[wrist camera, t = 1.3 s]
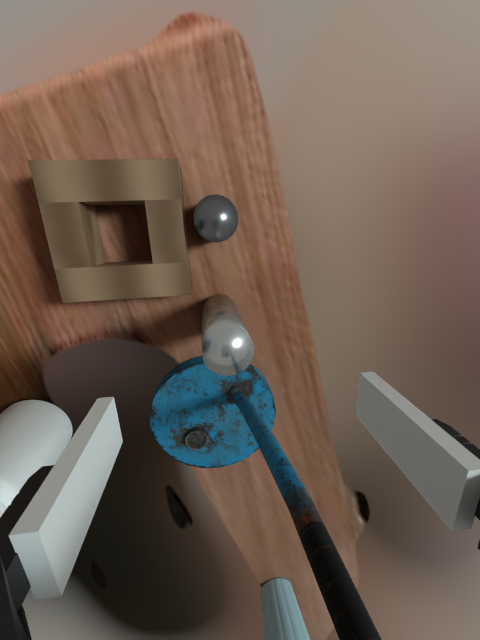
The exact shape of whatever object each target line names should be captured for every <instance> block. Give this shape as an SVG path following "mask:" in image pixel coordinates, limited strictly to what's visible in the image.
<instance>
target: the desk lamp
mask: <svg viewBox="0 0 480 640" xmlns="http://www.w3.org/2000/svg"><path fill="white" fill-rule="evenodd" d="M275 412H276V409H275V403H274V397H273V394H272V391H271V389H270V387H269V385H268V383H267V381H266V379H265V377H264V376H263V375H262V374H261V373H260V372H259V371H258V370H257V369H256V368H255V367H254V366H252V365H249V366H248V367H247V368H246V369H245V370H244V371H242V372H240V373H238V374H236V375H231V376H223V375H219V374H216V373H214V372H212V371H211V370H210V369H209V368H208V367H207V366H206V364H205V363H204V360H203V356H200V357H196V358H192V359H190V360H188V361H186V362H184V363H182V364H180V365H177V366H176V367H175V368H174V369H173V370H171V371H170V372H169V373H168V374H167V375H166V376H165V377H164V378H163V380H162V381H161V382H160V384H159V385H158V387H157V389H156V391H155V394H154V398H153V401H152V404H151V409H150V427H151V430H152V433H153V436H154V438H155V440H156V442H157V443H158V444H159V446H160V447H161V448H162V450H163V451H164V452H166V453H167V454H168V455H170V456H171V457H172V458H173V459H175V460H177V461H179V462H182V463H185V464H186V465H189V466H195V467H201V468H218V467H223V466H227V465H231V464H234V463H236V462H239V461H241V460H243V459H245V458H247V457H248V456H250V455H251V454H252V453H254V452H255V451H256V450H257V449H259V448H260V450H261V452H262V454H263V456H264V458H265V460H266V463H267V465H268V467H269V469H270V471H271V473H272V475H273V477H274V479H275V482H276V484H277V486H278V488H279V490H280V492H281V494H282V496H283V498H284V501H285V503H286V505H287V507H288V509H289V511H290V514H291V517H292V519H293V522H294V524H295V527H296V529H297V532H298V535H299V537H300V540H301V542H302V545H303V547H304V550H305V552H306V555H307V558H308V560H309V563H310V565H311V568H312V570H313V573H314V575H315V578H316V581H317V583H318V586H319V588H320V591H321V593H322V596H323V599H324V601H325V604H326V606H327V609H328V611H329V614H330V616H331V619H332V622H333V624H334V627H335V629H336V632H337V634H338V637H339V639H340V640H381V638H380V636H379V634H378V632H377V630H376V628H375V626H374V624H373V622H372V620H371V618H370V616H369V614H368V612H367V610H366V608H365V606H364V604H363V602H362V600H361V598H360V596H359V594H358V592H357V590H356V588H355V586H354V583H353V581H352V579H351V577H350V575H349V573H348V571H347V569H346V567H345V565H344V563H343V561H342V559H341V557H340V555H339V553H338V551H337V549H336V547H335V545H334V543H333V541H332V539H331V537H330V535H329V533H328V531H327V529H326V527H325V525H324V523H323V521H322V519H321V517H320V515H319V513H318V511H317V509H316V507H315V505H314V503H313V501H312V499H311V497H310V495H309V494H308V492H307V490H306V489H305V487H304V485H303V484H302V482H301V480H300V479H299V477H298V475H297V474H296V472H295V470H294V468H293V467H292V465H291V463H290V462H289V460H288V458H287V457H286V455H285V453H284V452H283V450H282V448H281V447H280V445H279V443H278V441H277V440H276V438H275V436H274V435H273V433H272V432H271V429H272V427H273V425H274V419H275Z"/></svg>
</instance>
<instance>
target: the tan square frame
mask: <svg viewBox="0 0 480 640" xmlns="http://www.w3.org/2000/svg"><path fill="white" fill-rule="evenodd" d="M28 162H29V166H30V170H31V174H32V178H33V183H34V187H35V191H36V195H37V199H38V203H39V208H40V212H41V216H42V220H43V224H44V228H45V233H46V237H47V241H48V245H49V249H50V253H51V257H52V262H53V266H54V270H55V274H56V278H57V282H58V287H59V291H60V295H61V299H62V303H69V302H85V301H101V300H117V299H133V298H148V297H164V296H180V295H190V293H191V288H192V286H191V275H190V264H189V253H188V242H187V231H186V220H185V209H184V199H183V188H182V177H181V168H180V165H179V163H178V160H177V159H136V160H28ZM115 205H145V208H146V215H147V223H148V231H149V238H150V246H151V253H152V260H151V261H130V262H109V263H105V258H104V252H103V247H102V241H101V236H100V230H99V225H98V219H97V214H96V209H95V206H115Z"/></svg>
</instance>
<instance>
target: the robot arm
mask: <svg viewBox="0 0 480 640" xmlns="http://www.w3.org/2000/svg"><path fill="white" fill-rule="evenodd" d="M356 416H357V417H358V419H359V420H360V421H361V422H362V423H363V424H364V426H365V427H366V428H367V430H368V431H369V432H370V433H371V434H372V436H373V437H374V438H375V439H376V440H377V442H378V443H379V444H380V445H381V447H382V448H383V449H384V450H385V451H386V453H387V454H388V455H389V456H390V457H391V459H392V460H393V461H394V462H395V463H396V465H397V466H398V467H399V468H400V469H401V471H402V472H403V473H404V474H405V476H406V477H407V478H408V479H409V480H410V481H411V483H412V484H413V485H414V486H415V487H416V489H417V490H418V491H419V493H420V494H421V495H422V496H423V497H424V499H425V500H426V501H427V502H428V503H429V505H430V506H431V507H432V508H433V509H434V511H435V512H436V513H437V514H438V515H439V517H440V518H441V519H442V520H443V521H444V523H445V524H446V525H447V526H448V528H449V529H450V530H451V531H452V532H453V531H459V530H465V529H470V528H471V527H472V525H473V521H474V518H475V516H476V517H477V518H478V519H479V520H480V449H478V448H477V447H476V446H475V445H473V444H471V443H470V441H468V440H467V439H466V438H464V437H462V436H461V434H459V433H458V432H457V431H455V430H454V429H453V428H452V427H451V426H449V425H447V424H445V423H443V422H441V421H439V420H437V419H433V420H431V419H430V418H429V417H427V416H426V415H425V414H424V413H422V412H421V411H420V410H419V409H418V408H416V407H415V406H414V405H413V404H412V403H410V402H409V401H408V400H407V399H405V398H404V397H403V396H402V395H401V394H399V393H398V392H397V391H396V390H395V389H393V388H392V387H391V386H390V385H389V384H387V383H386V382H385V381H384V380H383V379H381V378H380V377H379V376H378V375H377V374H375V373H374V372H365V373H360V379H359V389H358V397H357V407H356ZM122 442H123V440H122V435H121V431H120V426H119V421H118V415H117V411H116V406H115V401H114V397H106V398H98V399H97V400H96V402H95V404H94V405H93V406H92V408H91V410H90V411H89V413H88V414H87V416H86V417H85V419H84V420H83V422H82V424H81V425H80V426H79V428H78V430H77V431H76V433H75V434H74V436H73V437H72V439H71V440H70V442H69V443H68V445H67V446H66V448H65V450H64V451H63V453H62V454H61V456H60V457H59V459H58V460H57V462H56V463H55V465H51V466H42V467H41V468H40V469H39V470H38V471H36V472H35V473H34V474H33V475H32V476H31V477H29V478H28V480H27V481H26V482H25V484H24V485H23V487H22V488H21V489H20V491H19V494H17V495H16V496H15V498H14V499H13V500H12V502H11V505H9V506H8V507H7V509H6V510H5V512H4V513H3V514H2V516H1V517H0V640H32V639H31V635H30V631H29V627H28V623H27V619H26V616H25V611H24V609H23V606H22V603H23V601H24V599H25V597H26V595H27V593H28V591H29V589H31V592H32V594H33V596H34V599H35V600H40V599H45V598H51V597H57V596H62V594H63V591H64V589H65V586H66V583H67V581H68V579H69V576H70V574H71V571H72V569H73V566H74V563H75V561H76V558H77V556H78V553H79V551H80V548H81V546H82V543H83V541H84V538H85V536H86V533H87V531H88V528H89V526H90V523H91V521H92V518H93V515H94V513H95V510H96V508H97V505H98V503H99V500H100V498H101V495H102V493H103V490H104V488H105V485H106V482H107V480H108V477H109V475H110V472H111V470H112V467H113V465H114V462H115V460H116V457H117V455H118V452H119V449H120V447H121V445H122ZM478 549H480V540H479V544H478Z"/></svg>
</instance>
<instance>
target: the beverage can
mask: <svg viewBox="0 0 480 640" xmlns="http://www.w3.org/2000/svg"><path fill="white" fill-rule="evenodd" d="M71 437H72V424H71V421H70V419H69V418H68V416H67V415H66V414H65V412H63V411H62V410H61V409H60V408H58V407H57V406H55V405H53V404H51V403H48V402H45V401H41V400H24V401H20V402H17V403H14V404H12V405H11V406H9V407H8V408H7V409H5V410H4V411H3V412H2V413H1V414H0V517H1V516H2V514H3V513H4V512H5V510H6V509H7V507H8V506H9V505H11V502H12V500H13V499H14V498H15V496H16V495H17V494H19V491H20V489H21V488H22V487H23V485H24V484H25V482H26V481H27V480H28V478H29V477H31V476H32V475H33V474H34V473H35V472H36V471H38V470H39V469H40V468H41V467H42V466H51V465H55V463H56V462H57V460H58V459H59V457H60V456H61V454H62V453H63V451H64V449H65V448H66V446H67V445H68V443H69V441H70V440H71Z"/></svg>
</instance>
